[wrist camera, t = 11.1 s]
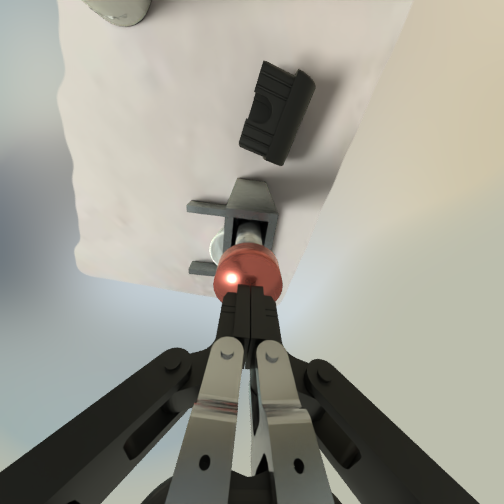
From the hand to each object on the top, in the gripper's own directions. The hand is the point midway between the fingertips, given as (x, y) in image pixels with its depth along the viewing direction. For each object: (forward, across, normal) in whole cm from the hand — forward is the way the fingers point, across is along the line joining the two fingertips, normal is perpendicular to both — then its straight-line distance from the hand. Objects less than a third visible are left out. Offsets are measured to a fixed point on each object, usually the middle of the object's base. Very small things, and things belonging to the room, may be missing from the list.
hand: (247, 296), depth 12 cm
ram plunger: (+12, 0, 0) cm, 12 cm away
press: (+27, +3, +7) cm, 28 cm away
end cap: (+27, -2, -11) cm, 30 cm away
